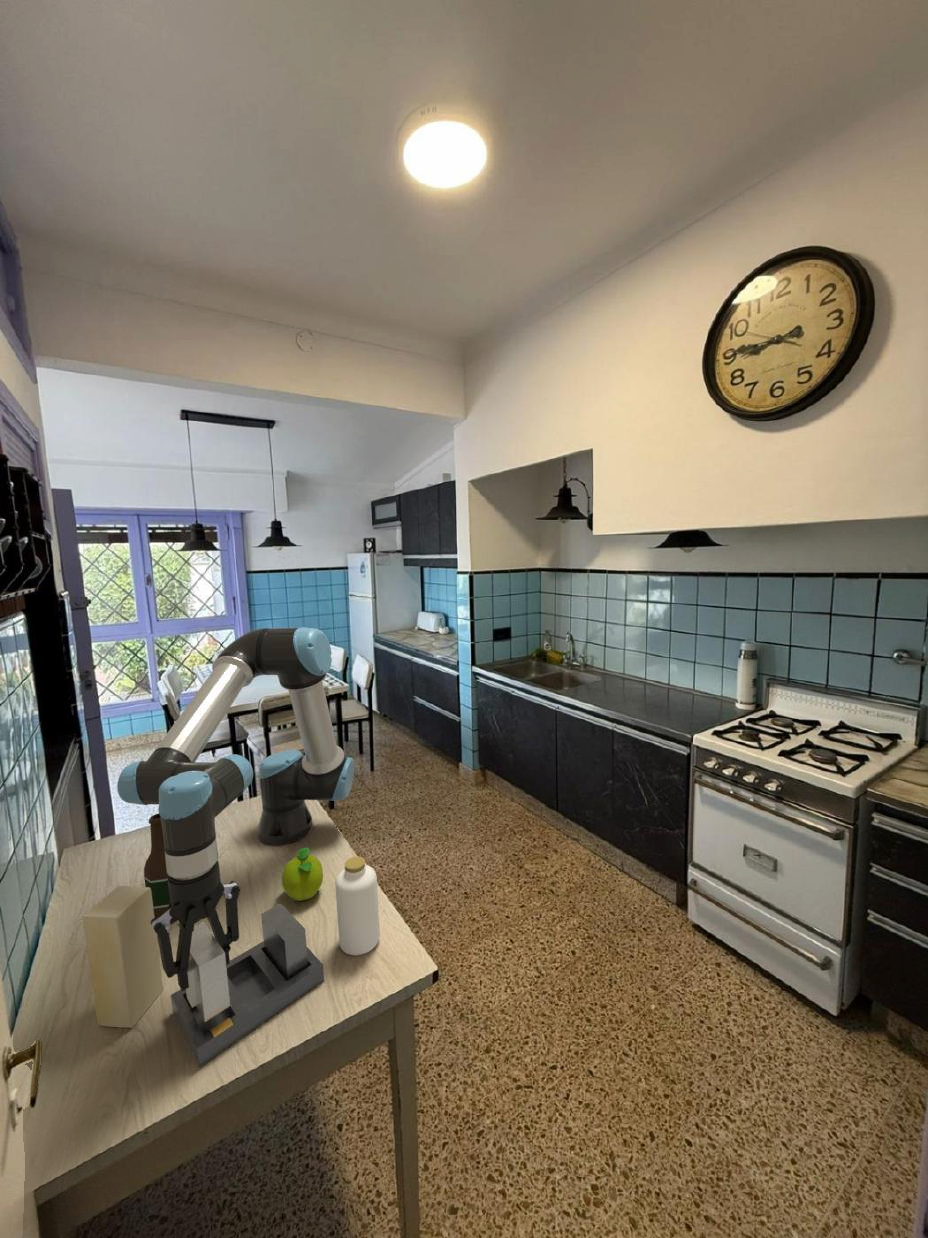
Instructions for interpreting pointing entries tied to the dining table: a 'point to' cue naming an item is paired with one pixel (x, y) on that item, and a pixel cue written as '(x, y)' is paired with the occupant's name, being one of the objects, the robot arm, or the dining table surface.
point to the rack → (253, 987)
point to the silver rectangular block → (208, 973)
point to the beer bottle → (157, 869)
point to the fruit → (302, 876)
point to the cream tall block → (123, 956)
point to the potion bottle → (357, 907)
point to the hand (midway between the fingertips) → (206, 992)
